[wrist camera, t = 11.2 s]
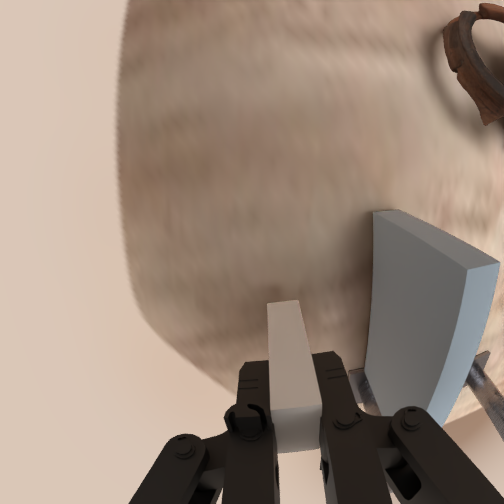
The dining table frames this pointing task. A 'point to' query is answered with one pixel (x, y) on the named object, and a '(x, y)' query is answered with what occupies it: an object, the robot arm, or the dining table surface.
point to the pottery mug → (475, 62)
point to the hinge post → (363, 391)
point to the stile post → (486, 392)
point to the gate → (424, 314)
